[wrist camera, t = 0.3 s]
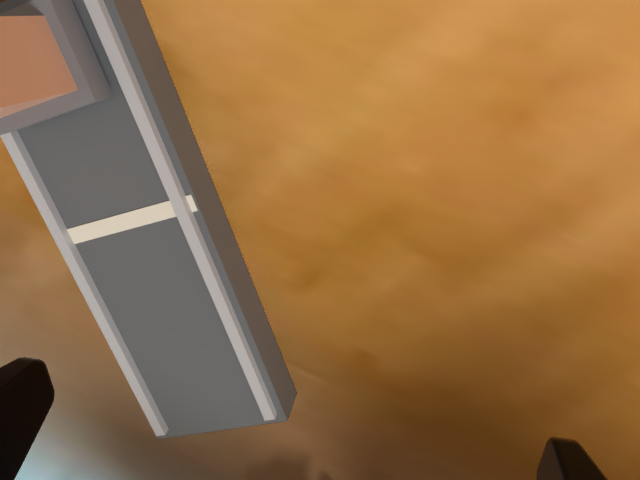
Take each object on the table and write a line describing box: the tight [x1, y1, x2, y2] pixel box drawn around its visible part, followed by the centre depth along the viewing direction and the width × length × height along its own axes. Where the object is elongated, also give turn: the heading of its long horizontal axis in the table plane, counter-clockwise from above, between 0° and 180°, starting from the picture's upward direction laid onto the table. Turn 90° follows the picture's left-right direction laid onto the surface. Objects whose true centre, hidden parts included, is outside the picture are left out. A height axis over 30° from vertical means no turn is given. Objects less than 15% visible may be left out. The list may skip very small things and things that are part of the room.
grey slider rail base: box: [0, 0, 297, 439], centre depth 23 cm, size 20×7×2 cm, turn 18°
